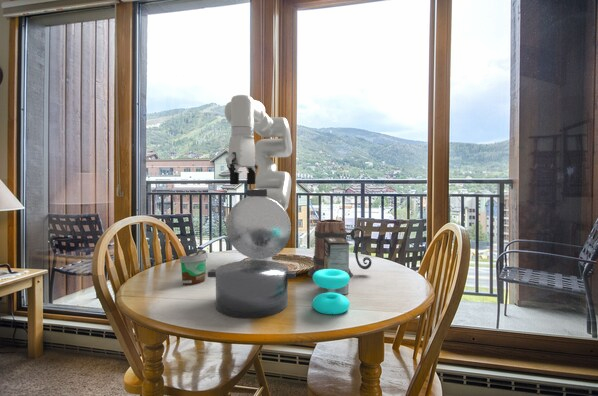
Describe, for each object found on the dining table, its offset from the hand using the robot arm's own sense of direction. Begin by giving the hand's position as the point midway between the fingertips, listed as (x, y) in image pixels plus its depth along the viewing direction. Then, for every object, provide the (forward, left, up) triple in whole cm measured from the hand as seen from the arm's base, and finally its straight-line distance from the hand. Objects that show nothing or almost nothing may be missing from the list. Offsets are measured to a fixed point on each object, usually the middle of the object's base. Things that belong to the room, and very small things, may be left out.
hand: (243, 184), depth 112 cm
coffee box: (+6, +31, -34) cm, 46 cm away
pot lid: (+12, +7, -12) cm, 19 cm away
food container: (+1, -16, -34) cm, 37 cm away
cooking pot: (+20, +7, -34) cm, 40 cm away
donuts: (+22, +29, -34) cm, 50 cm away
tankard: (-12, +33, -34) cm, 49 cm away
